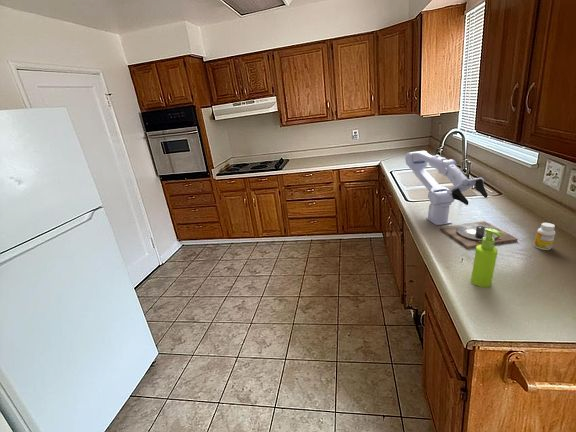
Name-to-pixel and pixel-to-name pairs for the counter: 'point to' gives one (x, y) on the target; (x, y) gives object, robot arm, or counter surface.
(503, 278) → the counter surface
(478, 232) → the dial
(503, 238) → the dial base
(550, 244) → the supplement bottle
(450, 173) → the robot arm
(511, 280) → the counter surface
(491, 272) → the soap dispenser
